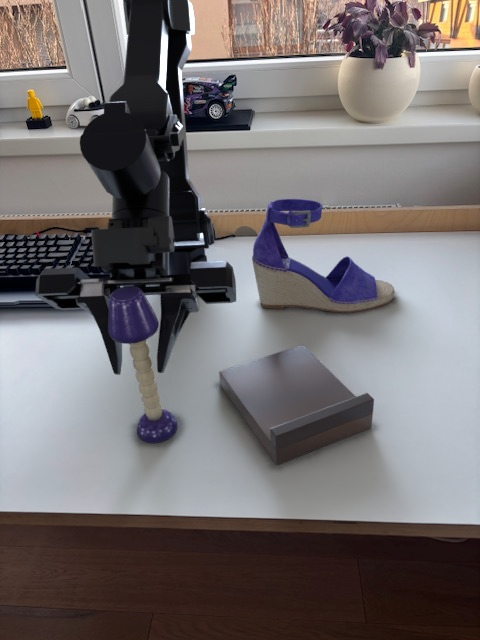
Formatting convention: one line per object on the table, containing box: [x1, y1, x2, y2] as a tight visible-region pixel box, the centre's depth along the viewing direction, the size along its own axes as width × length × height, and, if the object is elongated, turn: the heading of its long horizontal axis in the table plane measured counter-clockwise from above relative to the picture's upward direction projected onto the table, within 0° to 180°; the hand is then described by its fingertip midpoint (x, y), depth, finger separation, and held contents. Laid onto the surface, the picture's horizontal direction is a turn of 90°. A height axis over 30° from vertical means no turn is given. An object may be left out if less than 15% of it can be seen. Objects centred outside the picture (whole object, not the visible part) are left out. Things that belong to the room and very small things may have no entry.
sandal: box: [251, 198, 395, 313], centre depth 74 cm, size 8×20×15 cm, turn 84°
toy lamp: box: [108, 286, 178, 444], centre depth 53 cm, size 5×5×17 cm
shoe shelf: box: [218, 344, 375, 466], centre depth 58 cm, size 14×11×4 cm
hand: (138, 373), depth 51 cm, fingers closed on toy lamp, 4 cm apart
